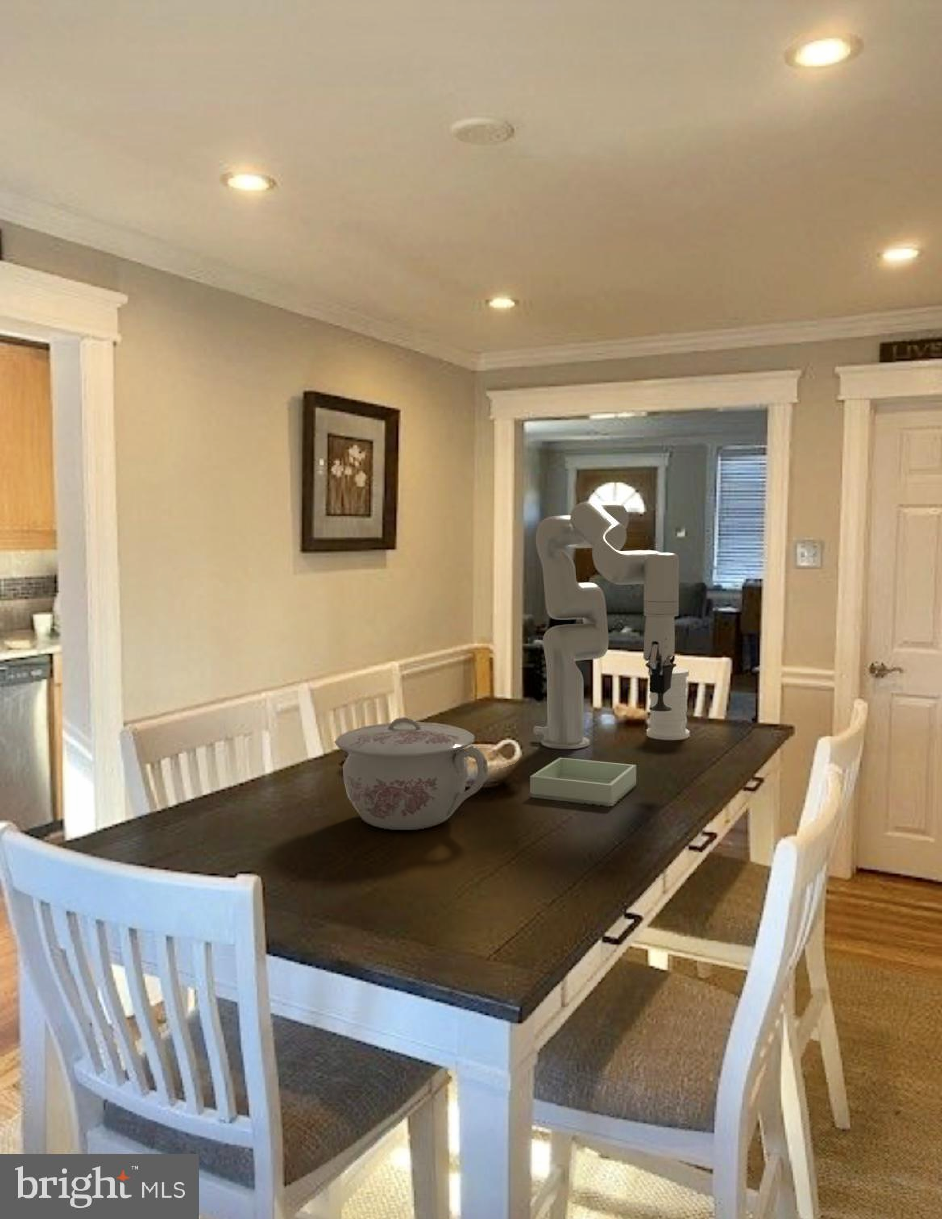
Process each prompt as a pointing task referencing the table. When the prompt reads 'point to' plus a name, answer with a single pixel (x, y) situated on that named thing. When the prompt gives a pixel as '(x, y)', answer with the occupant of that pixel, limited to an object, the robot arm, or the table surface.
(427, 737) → the chamber pot
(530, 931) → the table surface
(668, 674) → the sundae
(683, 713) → the decorative container
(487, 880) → the table surface
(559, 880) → the table surface
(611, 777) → the box
